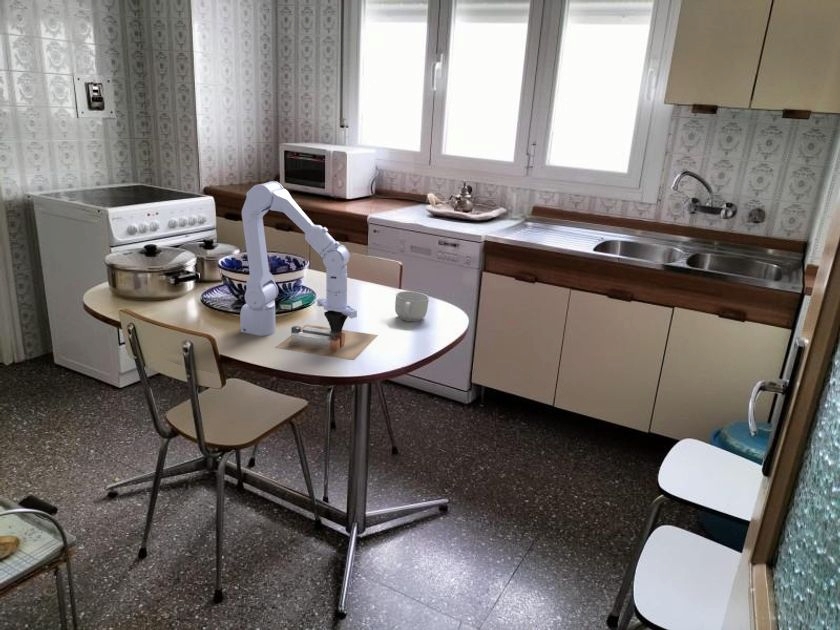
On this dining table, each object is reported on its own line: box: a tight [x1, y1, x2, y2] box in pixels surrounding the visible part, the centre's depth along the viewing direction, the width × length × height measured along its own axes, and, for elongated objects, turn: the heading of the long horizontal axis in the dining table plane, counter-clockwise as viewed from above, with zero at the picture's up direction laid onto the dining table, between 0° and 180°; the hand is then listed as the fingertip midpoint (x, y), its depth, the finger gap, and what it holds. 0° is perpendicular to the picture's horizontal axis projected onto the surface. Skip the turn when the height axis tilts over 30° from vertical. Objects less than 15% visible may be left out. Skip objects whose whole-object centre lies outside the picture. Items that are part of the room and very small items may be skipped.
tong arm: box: [303, 327, 345, 346], centre depth 173 cm, size 12×2×3 cm, turn 73°
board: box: [275, 324, 379, 361], centre depth 175 cm, size 23×20×1 cm
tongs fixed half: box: [290, 325, 340, 351], centre depth 171 cm, size 15×4×4 cm, turn 75°
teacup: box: [394, 290, 430, 322], centre depth 198 cm, size 14×11×8 cm
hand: (336, 335), depth 175 cm, fingers closed
